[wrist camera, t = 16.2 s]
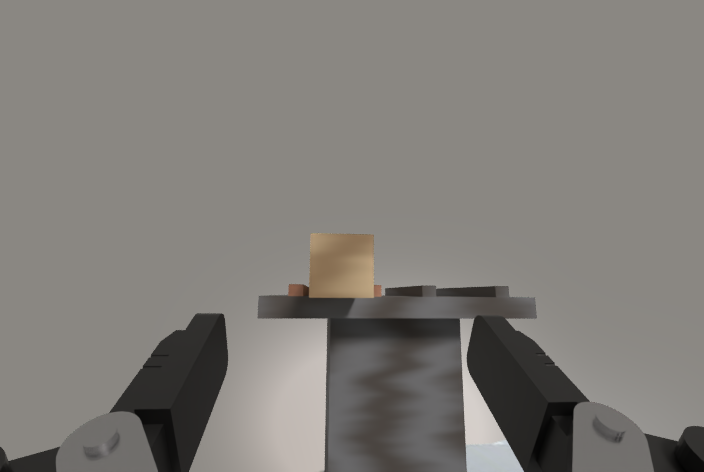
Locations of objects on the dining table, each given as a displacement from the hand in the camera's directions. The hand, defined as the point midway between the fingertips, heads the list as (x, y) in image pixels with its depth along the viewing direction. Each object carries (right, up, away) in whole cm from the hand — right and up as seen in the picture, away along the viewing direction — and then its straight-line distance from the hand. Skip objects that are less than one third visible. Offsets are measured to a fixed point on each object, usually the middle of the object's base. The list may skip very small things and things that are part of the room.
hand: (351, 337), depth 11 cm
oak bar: (-1, -1, +16) cm, 16 cm away
